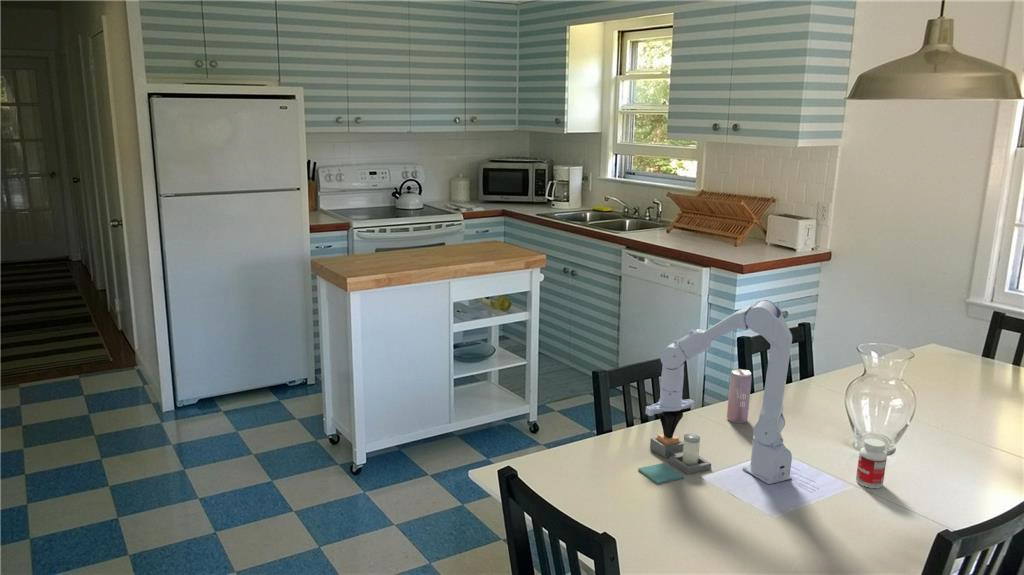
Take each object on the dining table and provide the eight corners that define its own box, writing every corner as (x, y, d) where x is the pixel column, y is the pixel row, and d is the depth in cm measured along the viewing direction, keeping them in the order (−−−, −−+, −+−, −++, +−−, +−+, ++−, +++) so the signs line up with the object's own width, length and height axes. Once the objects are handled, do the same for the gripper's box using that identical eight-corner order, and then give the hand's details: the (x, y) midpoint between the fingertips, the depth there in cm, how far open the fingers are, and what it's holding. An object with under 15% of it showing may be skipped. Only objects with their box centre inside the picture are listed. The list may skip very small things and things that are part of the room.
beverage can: (745, 416, 233) (749, 369, 230) (749, 424, 227) (753, 375, 224) (725, 415, 233) (729, 368, 230) (728, 423, 228) (732, 374, 224)
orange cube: (677, 451, 207) (678, 437, 206) (665, 454, 205) (666, 440, 204) (668, 446, 210) (669, 432, 209) (656, 448, 208) (657, 434, 208)
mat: (683, 478, 192) (683, 475, 192) (657, 484, 189) (657, 481, 189) (663, 464, 199) (664, 462, 199) (638, 470, 196) (638, 468, 196)
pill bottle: (850, 478, 195) (856, 437, 192) (873, 477, 195) (879, 436, 193) (864, 489, 189) (869, 447, 186) (887, 489, 189) (893, 447, 187)
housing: (710, 469, 198) (711, 458, 197) (687, 474, 194) (688, 463, 194) (670, 444, 212) (671, 433, 211) (648, 448, 209) (649, 438, 208)
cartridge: (701, 467, 198) (703, 438, 197) (688, 470, 197) (690, 441, 195) (690, 461, 202) (693, 432, 200) (678, 463, 200) (680, 435, 198)
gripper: (684, 380, 210) (680, 426, 213) (640, 387, 204) (637, 435, 207) (700, 388, 204) (697, 436, 207) (656, 396, 198) (652, 445, 201)
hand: (668, 436), depth 207 cm, fingers closed, pressing on orange cube
